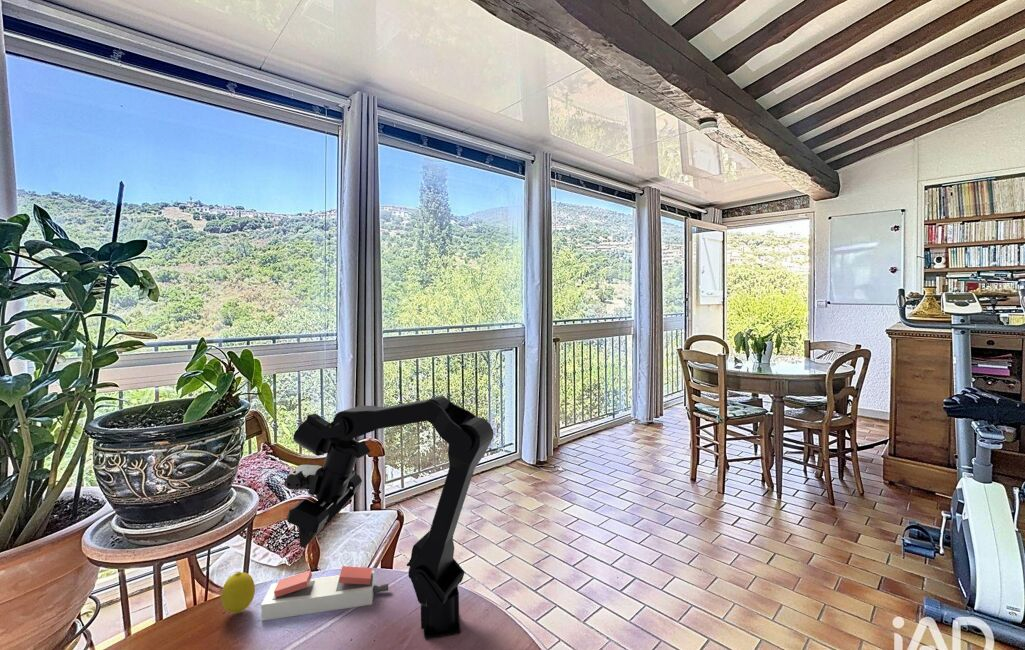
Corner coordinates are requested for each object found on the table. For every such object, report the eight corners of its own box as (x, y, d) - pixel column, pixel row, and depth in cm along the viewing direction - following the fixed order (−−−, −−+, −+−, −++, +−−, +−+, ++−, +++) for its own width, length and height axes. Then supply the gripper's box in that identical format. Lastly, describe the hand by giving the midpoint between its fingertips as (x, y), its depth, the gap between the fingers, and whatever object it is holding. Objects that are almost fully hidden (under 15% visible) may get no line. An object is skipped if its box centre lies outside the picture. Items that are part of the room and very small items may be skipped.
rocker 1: (312, 575, 93) (310, 570, 93) (307, 586, 89) (306, 581, 89) (281, 585, 92) (279, 580, 91) (275, 597, 88) (273, 591, 88)
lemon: (244, 622, 85) (243, 580, 85) (215, 622, 85) (214, 580, 85) (261, 604, 91) (260, 564, 91) (233, 604, 91) (232, 564, 91)
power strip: (389, 582, 98) (388, 568, 98) (387, 602, 91) (387, 586, 91) (272, 598, 93) (271, 583, 93) (261, 620, 86) (261, 604, 86)
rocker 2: (371, 573, 95) (372, 568, 95) (369, 584, 92) (370, 578, 92) (341, 571, 94) (342, 566, 94) (338, 582, 90) (339, 576, 90)
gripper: (326, 434, 100) (305, 496, 102) (273, 469, 82) (248, 544, 84) (372, 454, 100) (350, 515, 102) (328, 494, 81) (302, 568, 83)
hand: (315, 533), depth 93 cm, fingers open, 9 cm apart
